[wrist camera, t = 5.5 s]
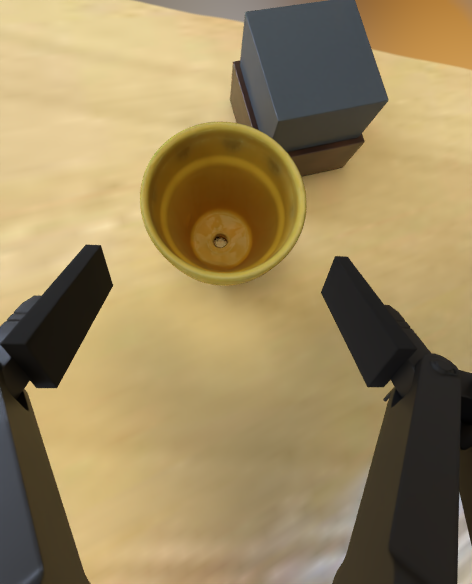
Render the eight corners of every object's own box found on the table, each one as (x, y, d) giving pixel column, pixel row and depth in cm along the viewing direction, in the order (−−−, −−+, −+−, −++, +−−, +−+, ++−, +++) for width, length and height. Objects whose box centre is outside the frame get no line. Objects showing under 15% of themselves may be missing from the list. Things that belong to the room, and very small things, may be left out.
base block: (316, 84, 27) (333, 45, 23) (342, 167, 27) (365, 141, 23) (230, 99, 26) (232, 61, 22) (255, 186, 26) (262, 163, 22)
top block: (330, 50, 23) (354, -4, 19) (358, 137, 23) (389, 100, 19) (239, 65, 22) (244, 11, 18) (266, 156, 22) (278, 121, 18)
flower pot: (219, 316, 24) (223, 317, 14) (146, 240, 24) (100, 190, 14) (292, 246, 25) (340, 203, 16) (222, 174, 25) (227, 87, 16)
